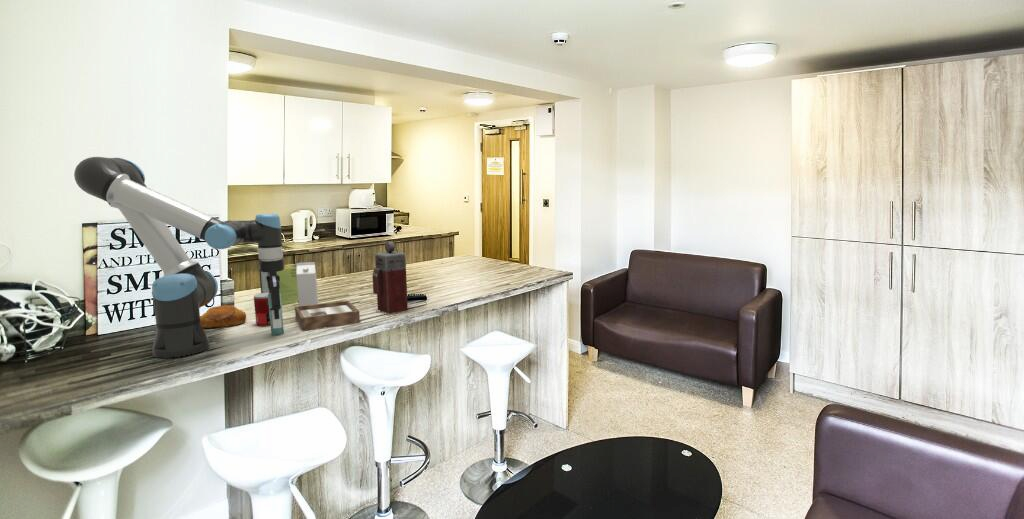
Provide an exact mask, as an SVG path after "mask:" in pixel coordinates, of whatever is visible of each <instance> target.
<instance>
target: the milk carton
mask: <svg viewBox="0 0 1024 519" xmlns="http://www.w3.org/2000/svg"><path fill="white" fill-rule="evenodd" d="M295 265H297V272H296V274H297V288H298V301H299V302H298V306H306V305H314V304H319V294H318V293H319V292H318V279H317V269H316V262H315V261H310V262H308V261H307V262H297V263H296V264H295Z"/></svg>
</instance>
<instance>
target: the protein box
mask: <svg viewBox="0 0 1024 519" xmlns="http://www.w3.org/2000/svg"><path fill="white" fill-rule="evenodd" d="M258 272H259V284H260V293H269V288H268V284H267V280H266V276H268V272H261V271H260V268H258ZM296 272H297V264H294V263H291V264H284V270H282V271H277V275H279V277H280V281H279V285H280V288H279V293H281V305H282V306H283V304H284V305H288V303H289V304H294V303H293V302H295V303H299V302H298V288H297V274H296Z"/></svg>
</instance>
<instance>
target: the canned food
mask: <svg viewBox="0 0 1024 519" xmlns="http://www.w3.org/2000/svg"><path fill="white" fill-rule="evenodd" d="M268 294H269V293H261V292H260V293H256V294H255V295H253V302H254V303H253V305H254V314H255V324H256V325H257V326H259V327H271V326H270V314H269V302H268Z"/></svg>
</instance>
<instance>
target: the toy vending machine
mask: <svg viewBox="0 0 1024 519" xmlns="http://www.w3.org/2000/svg"><path fill="white" fill-rule="evenodd" d="M395 248H396V247H395V242H394V241H385V243H384V250H385V252H376V253H375V254H374V260H375V261H374V262H375V267H374V268H373V271H372V292H373V294H374V295H376V300H377V304H376V305H377V310H378V311H379V310H380V312H382V311H383V312H382V313H385V312H386V313H385V314H388V313H390V314H394V313H393V312H395V313H398V311H400V312H404V311H403V310H405V311H408V310H409V306H408V286H407V285H408V282H407V263H406V262H407V261H406V253H405V252H400V251H395Z"/></svg>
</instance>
